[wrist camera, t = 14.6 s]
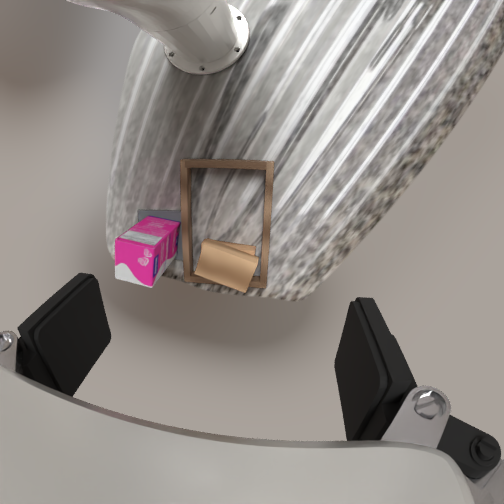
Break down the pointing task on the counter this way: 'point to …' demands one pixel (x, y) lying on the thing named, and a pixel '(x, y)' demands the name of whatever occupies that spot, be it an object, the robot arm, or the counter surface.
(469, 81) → the counter surface
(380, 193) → the counter surface
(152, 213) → the mat
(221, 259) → the offcut upper
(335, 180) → the counter surface
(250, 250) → the offcut lower
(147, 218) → the supplement box
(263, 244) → the wooden frame tray
